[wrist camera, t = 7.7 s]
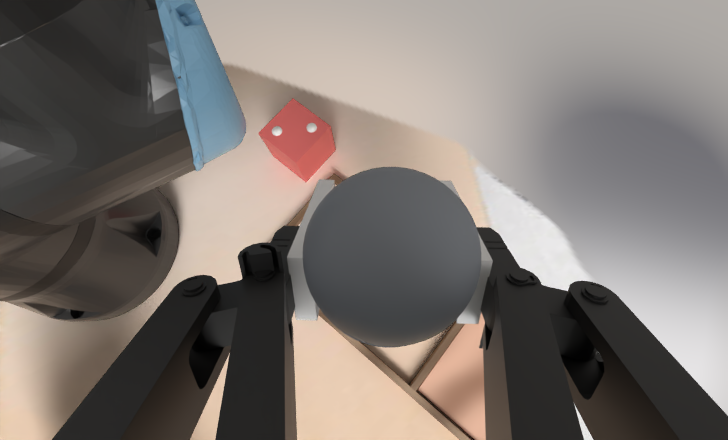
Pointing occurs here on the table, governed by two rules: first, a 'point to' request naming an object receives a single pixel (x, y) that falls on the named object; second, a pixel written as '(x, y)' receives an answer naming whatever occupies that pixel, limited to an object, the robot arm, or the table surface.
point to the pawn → (391, 256)
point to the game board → (441, 372)
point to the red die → (299, 139)
